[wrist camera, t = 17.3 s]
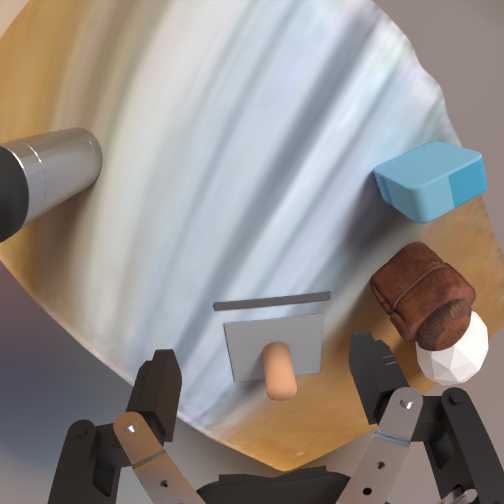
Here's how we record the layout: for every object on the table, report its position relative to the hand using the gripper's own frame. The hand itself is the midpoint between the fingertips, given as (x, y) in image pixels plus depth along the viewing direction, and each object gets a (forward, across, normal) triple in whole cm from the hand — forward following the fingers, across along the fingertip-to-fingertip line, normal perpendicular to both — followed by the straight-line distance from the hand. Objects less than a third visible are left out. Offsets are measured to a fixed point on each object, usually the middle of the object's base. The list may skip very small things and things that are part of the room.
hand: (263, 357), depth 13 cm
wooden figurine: (+30, -23, +14) cm, 41 cm away
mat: (+30, -2, +26) cm, 40 cm away
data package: (+30, -23, -2) cm, 38 cm away
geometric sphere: (+30, -34, +28) cm, 53 cm away
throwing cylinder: (+30, -2, +28) cm, 41 cm away
